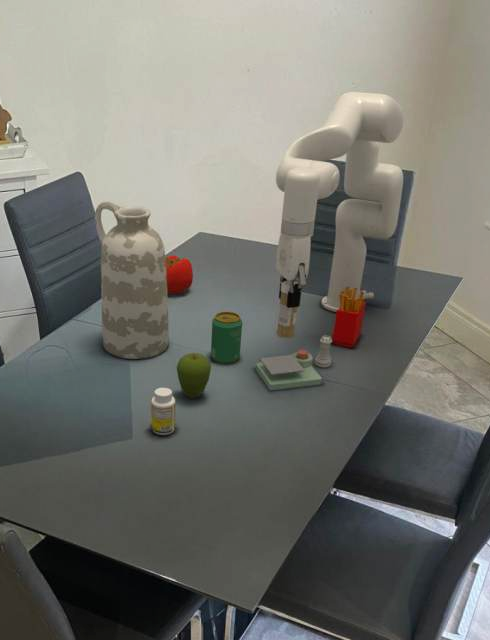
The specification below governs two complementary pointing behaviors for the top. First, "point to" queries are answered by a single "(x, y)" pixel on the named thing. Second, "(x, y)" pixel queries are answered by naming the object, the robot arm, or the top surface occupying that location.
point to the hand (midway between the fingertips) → (289, 301)
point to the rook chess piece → (324, 353)
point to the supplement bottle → (163, 411)
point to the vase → (133, 284)
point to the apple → (193, 373)
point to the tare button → (302, 354)
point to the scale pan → (282, 365)
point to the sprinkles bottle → (286, 313)
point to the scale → (291, 375)
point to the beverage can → (226, 337)
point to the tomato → (178, 274)
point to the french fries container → (348, 318)
